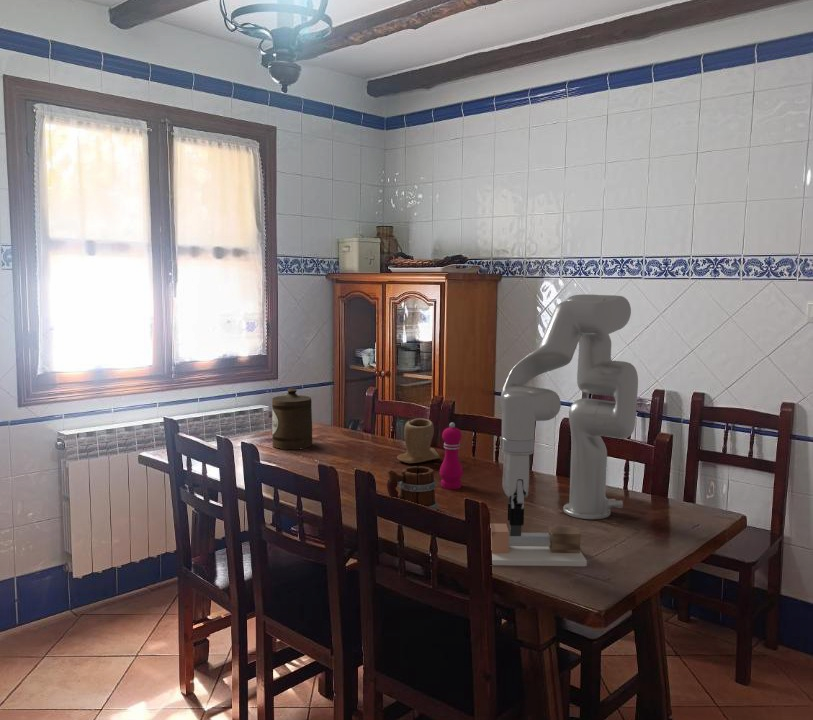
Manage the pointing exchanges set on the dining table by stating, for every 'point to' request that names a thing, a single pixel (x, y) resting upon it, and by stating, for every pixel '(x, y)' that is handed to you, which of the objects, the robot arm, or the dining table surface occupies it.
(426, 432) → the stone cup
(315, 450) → the dining table surface
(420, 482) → the mug
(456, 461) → the pepper mill
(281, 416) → the wooden container
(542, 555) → the cream board
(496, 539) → the terracotta socket
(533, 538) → the grey piece
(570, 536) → the walnut sleeve
